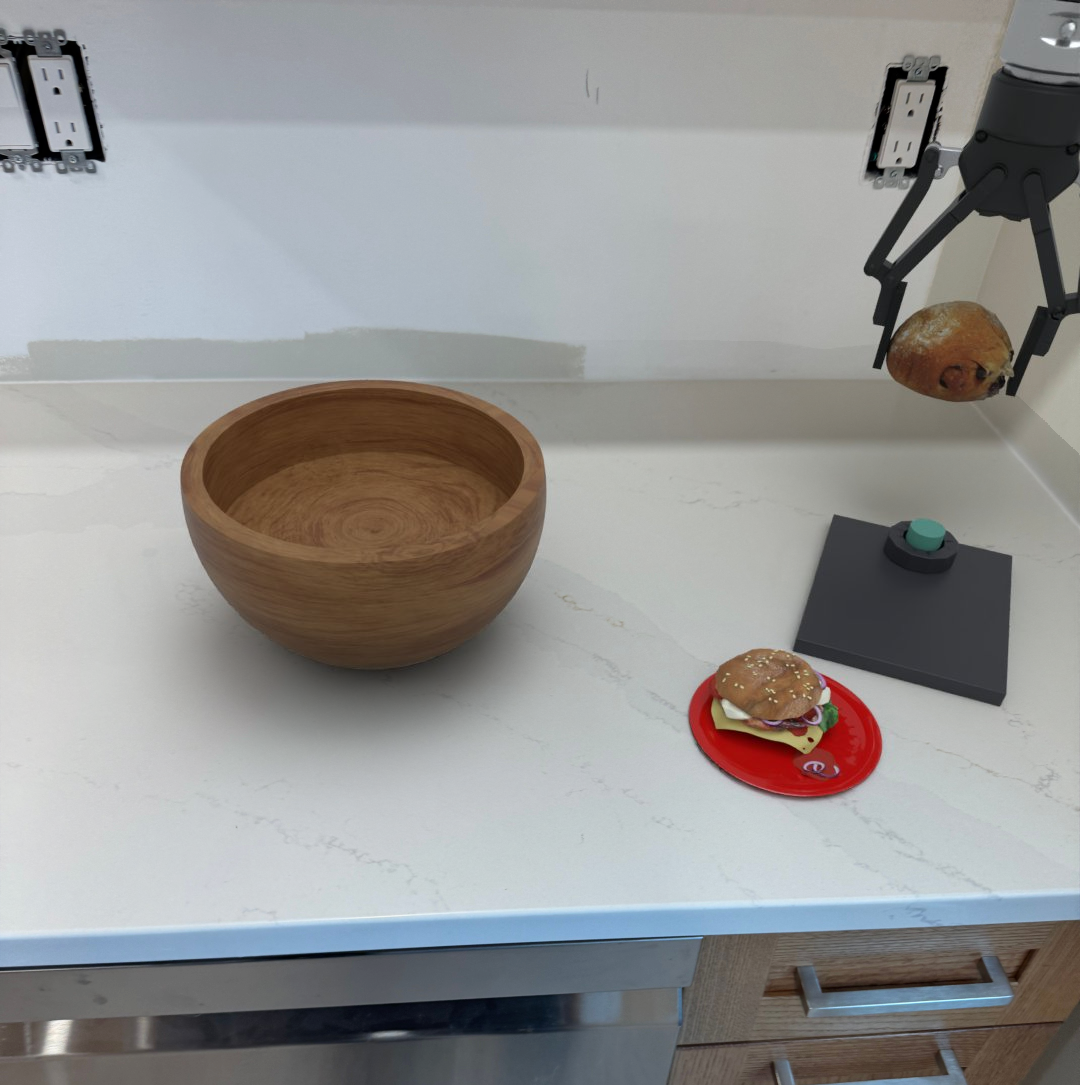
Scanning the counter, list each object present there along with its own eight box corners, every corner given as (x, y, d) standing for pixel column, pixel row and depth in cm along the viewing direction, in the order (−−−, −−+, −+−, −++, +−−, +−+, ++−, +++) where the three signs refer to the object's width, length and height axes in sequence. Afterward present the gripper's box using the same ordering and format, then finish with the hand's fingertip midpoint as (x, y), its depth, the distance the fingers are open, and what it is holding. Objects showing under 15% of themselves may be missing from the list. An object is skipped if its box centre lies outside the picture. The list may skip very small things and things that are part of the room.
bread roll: (957, 396, 89) (962, 302, 86) (1041, 395, 79) (1051, 290, 77) (864, 406, 86) (866, 310, 83) (940, 406, 77) (946, 298, 74)
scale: (1006, 568, 86) (1019, 540, 84) (999, 707, 73) (1015, 678, 71) (829, 526, 90) (838, 498, 88) (792, 651, 77) (800, 622, 74)
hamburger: (667, 765, 67) (680, 703, 63) (711, 647, 76) (725, 586, 72) (869, 824, 64) (897, 763, 60) (889, 693, 73) (914, 633, 69)
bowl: (476, 779, 65) (476, 602, 55) (153, 694, 70) (96, 515, 59) (574, 576, 83) (588, 412, 72) (310, 518, 87) (287, 356, 76)
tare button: (941, 537, 85) (947, 522, 84) (938, 555, 83) (944, 540, 82) (906, 529, 85) (912, 514, 84) (903, 547, 83) (909, 532, 82)
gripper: (878, 60, 67) (803, 365, 83) (1236, 105, 62) (1084, 423, 77) (891, 43, 72) (819, 334, 88) (1224, 83, 67) (1084, 386, 82)
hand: (943, 376), depth 83 cm, fingers closed on bread roll, 10 cm apart
